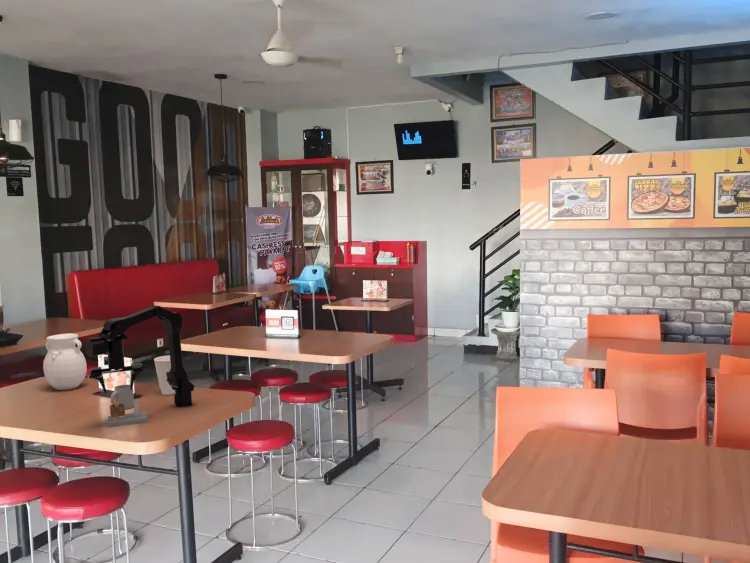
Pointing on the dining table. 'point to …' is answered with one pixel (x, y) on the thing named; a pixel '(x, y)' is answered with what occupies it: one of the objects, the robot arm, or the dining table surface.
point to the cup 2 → (163, 374)
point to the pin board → (129, 416)
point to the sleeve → (117, 412)
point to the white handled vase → (64, 361)
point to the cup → (123, 396)
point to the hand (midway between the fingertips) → (118, 391)
